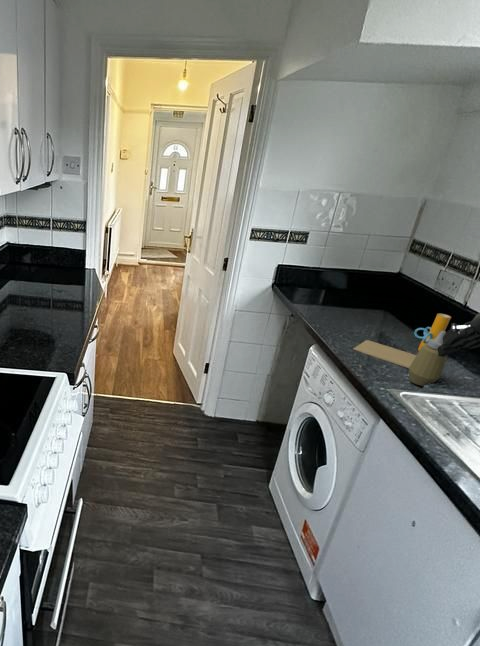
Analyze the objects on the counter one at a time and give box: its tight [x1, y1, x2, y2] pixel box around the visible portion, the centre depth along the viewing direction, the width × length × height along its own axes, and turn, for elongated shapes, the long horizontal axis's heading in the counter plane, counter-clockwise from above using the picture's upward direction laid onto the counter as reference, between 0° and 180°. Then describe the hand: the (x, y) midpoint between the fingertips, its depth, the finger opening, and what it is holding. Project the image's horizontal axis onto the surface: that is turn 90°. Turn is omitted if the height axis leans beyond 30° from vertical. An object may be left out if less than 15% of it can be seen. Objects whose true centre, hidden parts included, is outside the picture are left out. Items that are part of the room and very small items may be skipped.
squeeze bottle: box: [408, 330, 448, 387], centre depth 128 cm, size 8×8×18 cm
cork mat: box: [352, 339, 417, 369], centre depth 151 cm, size 18×14×1 cm
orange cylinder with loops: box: [413, 313, 452, 352], centre depth 151 cm, size 12×10×15 cm
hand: (440, 352), depth 123 cm, fingers closed
